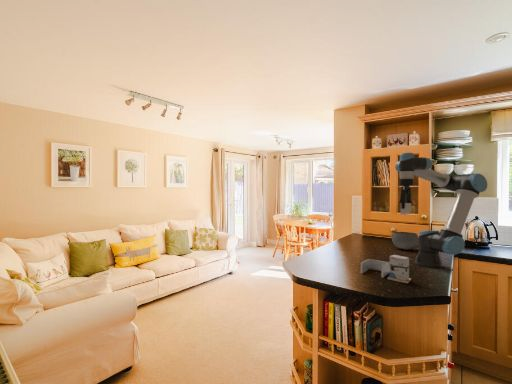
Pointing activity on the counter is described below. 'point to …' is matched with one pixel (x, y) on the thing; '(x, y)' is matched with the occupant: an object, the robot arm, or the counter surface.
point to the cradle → (375, 266)
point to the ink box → (399, 267)
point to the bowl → (405, 240)
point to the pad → (399, 280)
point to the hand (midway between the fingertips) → (405, 214)
